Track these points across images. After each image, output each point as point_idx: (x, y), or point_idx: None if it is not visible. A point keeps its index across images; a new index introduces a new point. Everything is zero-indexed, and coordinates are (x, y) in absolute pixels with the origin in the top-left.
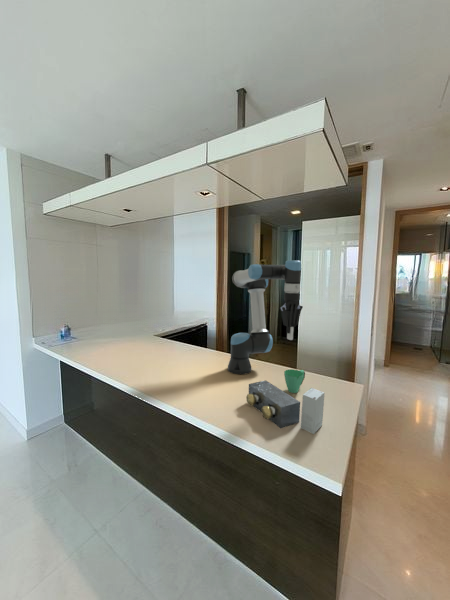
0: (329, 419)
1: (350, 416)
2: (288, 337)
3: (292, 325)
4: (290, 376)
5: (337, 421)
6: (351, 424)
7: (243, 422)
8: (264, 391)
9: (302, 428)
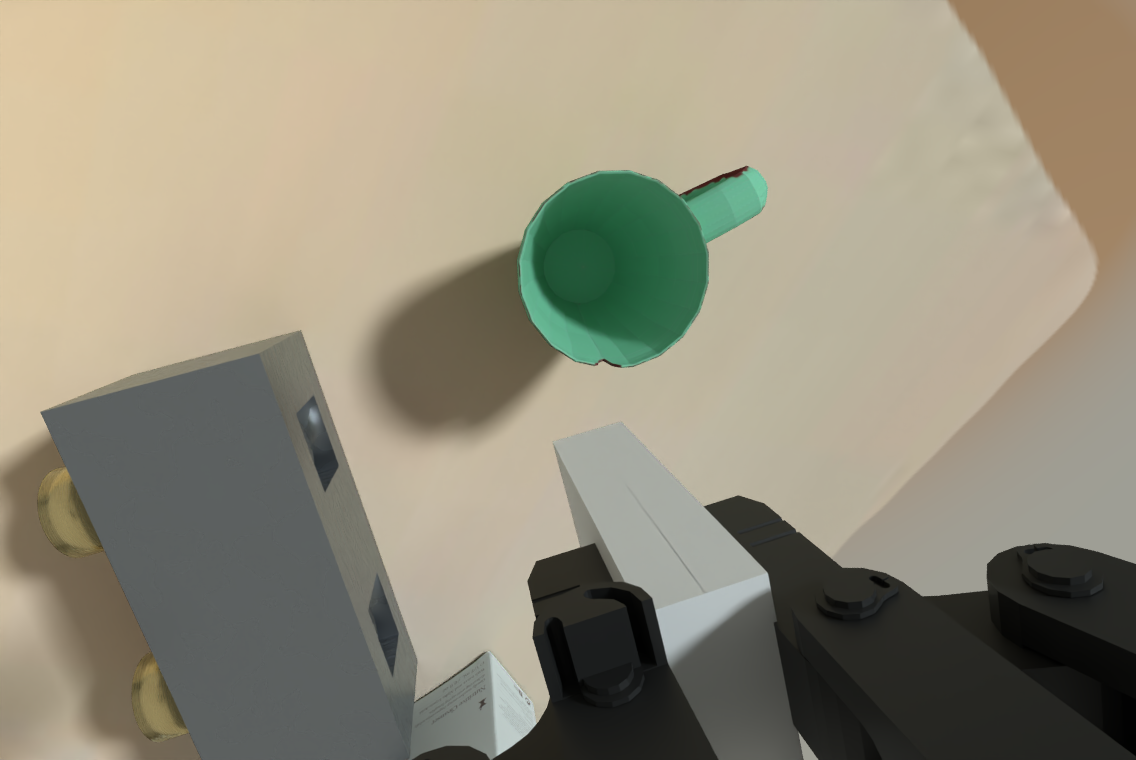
0: None
1: None
2: (573, 507)
3: (820, 757)
4: (544, 337)
5: None
6: None
7: (35, 630)
8: (169, 580)
9: None
